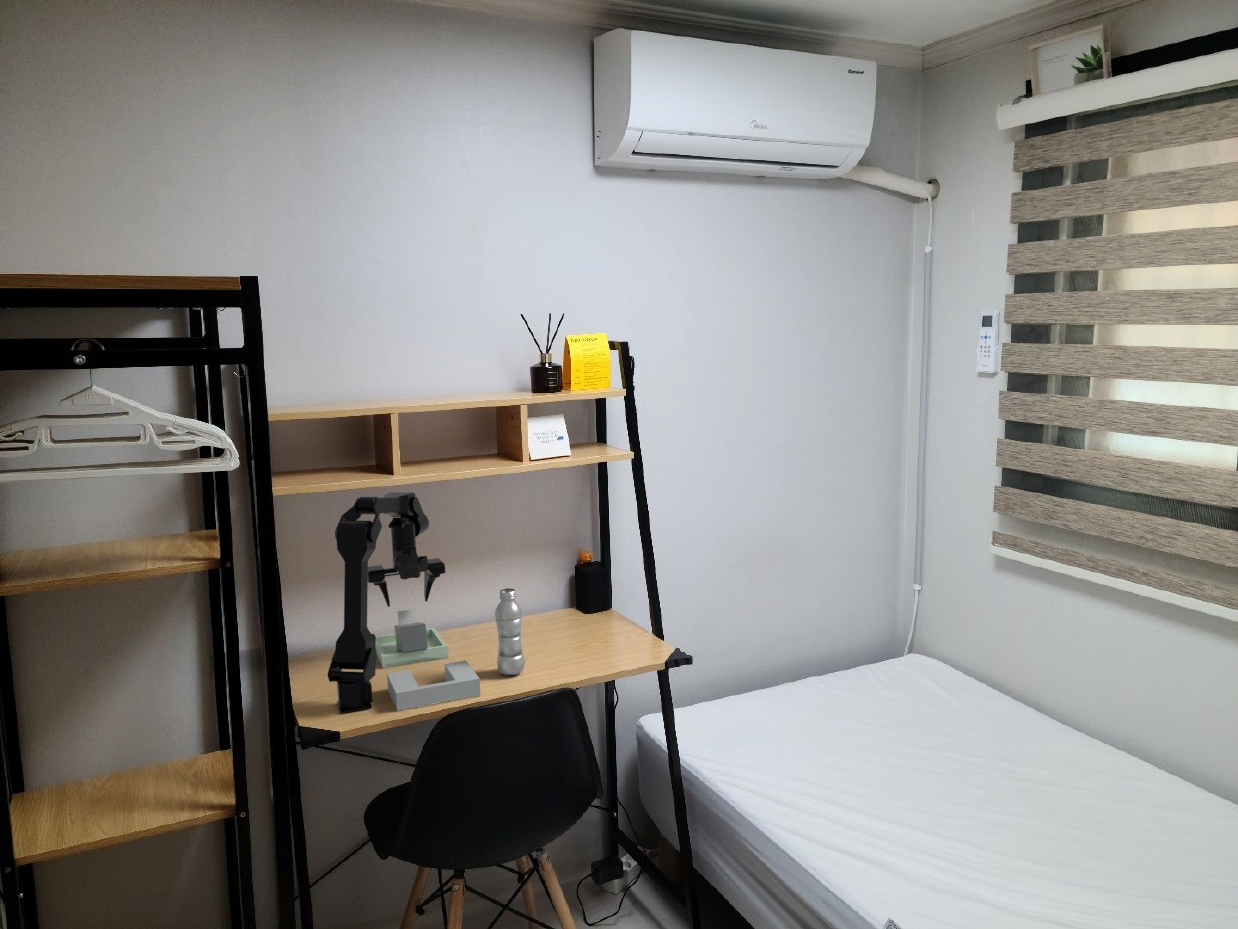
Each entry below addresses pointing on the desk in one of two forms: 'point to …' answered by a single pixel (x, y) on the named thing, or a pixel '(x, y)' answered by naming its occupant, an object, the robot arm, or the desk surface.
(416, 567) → the robot arm
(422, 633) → the grey block with handle
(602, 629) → the desk surface
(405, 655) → the tray
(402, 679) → the bay housing
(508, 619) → the plastic bottle
